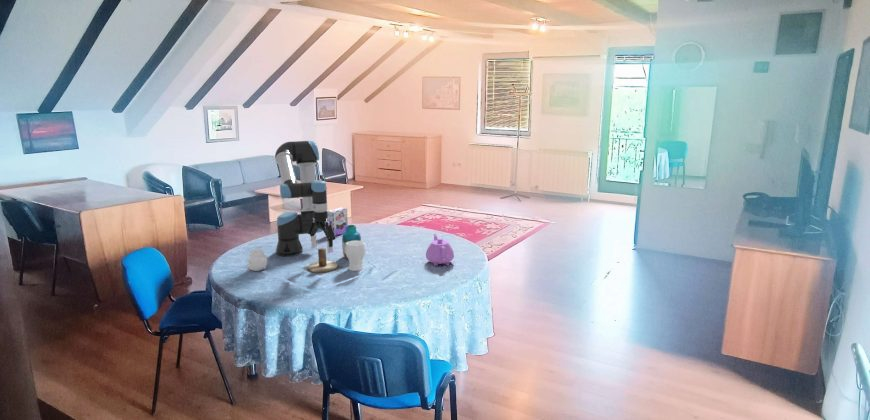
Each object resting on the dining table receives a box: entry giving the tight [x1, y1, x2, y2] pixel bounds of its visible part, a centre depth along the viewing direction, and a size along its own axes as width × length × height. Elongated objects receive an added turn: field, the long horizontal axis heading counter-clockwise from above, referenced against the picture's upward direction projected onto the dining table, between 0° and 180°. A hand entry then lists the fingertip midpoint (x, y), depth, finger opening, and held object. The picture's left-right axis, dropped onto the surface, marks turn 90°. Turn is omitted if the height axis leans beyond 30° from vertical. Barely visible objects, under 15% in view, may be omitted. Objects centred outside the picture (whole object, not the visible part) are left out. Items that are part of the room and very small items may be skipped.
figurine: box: [246, 246, 268, 272], centre depth 282 cm, size 10×10×12 cm
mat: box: [301, 264, 345, 276], centre depth 284 cm, size 16×16×1 cm
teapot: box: [425, 233, 455, 267], centre depth 295 cm, size 22×16×14 cm
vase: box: [341, 224, 362, 260], centre depth 300 cm, size 11×11×19 cm
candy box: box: [326, 207, 349, 237], centre depth 349 cm, size 14×6×16 cm, turn 147°
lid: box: [307, 247, 338, 273], centre depth 283 cm, size 15×15×10 cm
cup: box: [345, 240, 366, 272], centre depth 282 cm, size 11×11×15 cm
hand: (322, 250), depth 282 cm, fingers open, 13 cm apart
